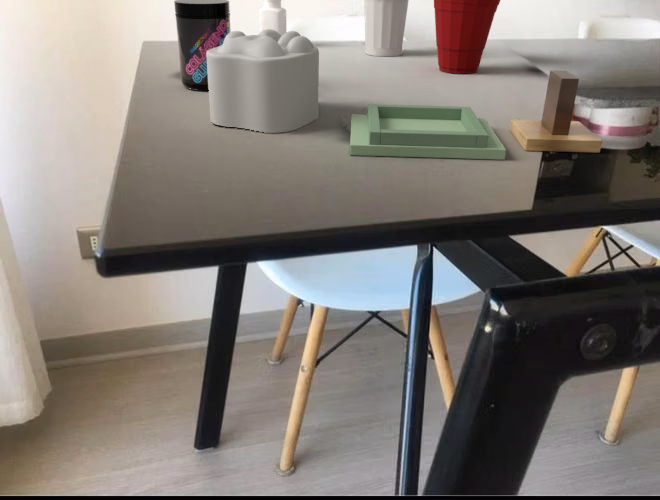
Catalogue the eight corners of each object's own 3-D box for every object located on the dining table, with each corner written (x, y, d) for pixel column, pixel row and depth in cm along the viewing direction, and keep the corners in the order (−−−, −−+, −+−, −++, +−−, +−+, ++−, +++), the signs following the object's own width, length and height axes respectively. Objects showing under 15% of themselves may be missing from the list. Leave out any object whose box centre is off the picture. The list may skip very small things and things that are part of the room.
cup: (394, 48, 113) (398, -24, 108) (414, 56, 106) (420, -21, 101) (353, 50, 111) (355, -24, 105) (371, 58, 104) (375, -21, 99)
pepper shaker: (268, 43, 117) (266, -13, 113) (287, 44, 116) (287, -12, 111) (258, 46, 113) (256, -11, 109) (279, 47, 112) (278, -10, 108)
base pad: (483, 127, 67) (486, 106, 66) (504, 160, 57) (508, 136, 56) (351, 123, 67) (351, 103, 66) (349, 155, 57) (350, 131, 56)
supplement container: (174, 90, 80) (166, 2, 75) (190, 80, 86) (183, -3, 81) (226, 93, 79) (221, 4, 74) (238, 82, 85) (235, -1, 81)
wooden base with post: (577, 132, 65) (589, 68, 63) (600, 153, 59) (615, 83, 56) (509, 130, 66) (518, 66, 63) (525, 150, 59) (536, 81, 57)
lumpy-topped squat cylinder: (197, 123, 66) (191, 37, 62) (256, 98, 77) (253, 23, 73) (287, 135, 62) (286, 45, 59) (335, 107, 73) (337, 29, 69)
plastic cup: (510, 73, 94) (523, -14, 89) (455, 79, 89) (464, -12, 84) (462, 61, 102) (470, -19, 97) (408, 67, 97) (414, -18, 92)
